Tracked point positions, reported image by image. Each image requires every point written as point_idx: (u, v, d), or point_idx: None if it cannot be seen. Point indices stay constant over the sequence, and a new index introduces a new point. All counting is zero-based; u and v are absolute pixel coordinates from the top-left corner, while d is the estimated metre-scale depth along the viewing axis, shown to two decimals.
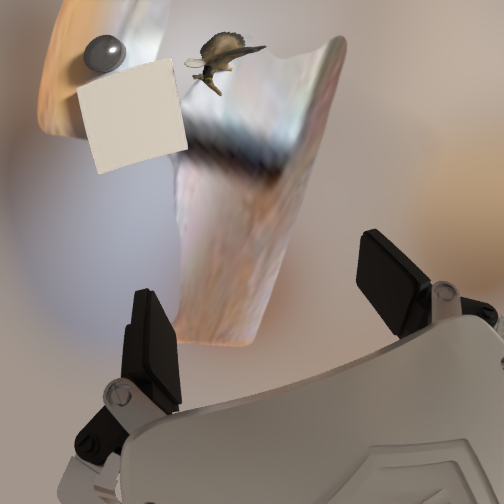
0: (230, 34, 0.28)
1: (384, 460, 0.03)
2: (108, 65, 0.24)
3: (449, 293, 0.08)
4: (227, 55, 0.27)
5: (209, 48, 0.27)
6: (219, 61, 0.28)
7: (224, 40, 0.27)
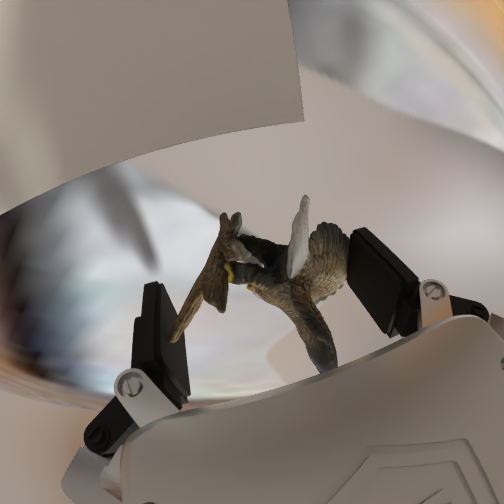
0: None
1: (384, 461, 0.03)
2: None
3: (437, 291, 0.08)
4: None
5: (331, 252, 0.11)
6: (293, 302, 0.10)
7: (343, 279, 0.13)
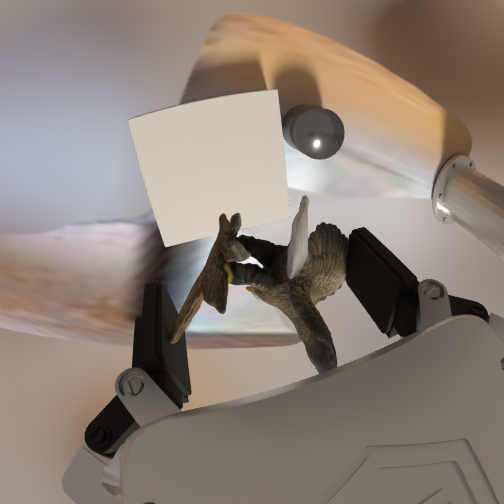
0: None
1: (384, 461, 0.03)
2: (299, 143, 0.23)
3: (436, 291, 0.08)
4: None
5: (330, 252, 0.11)
6: None
7: (343, 279, 0.13)
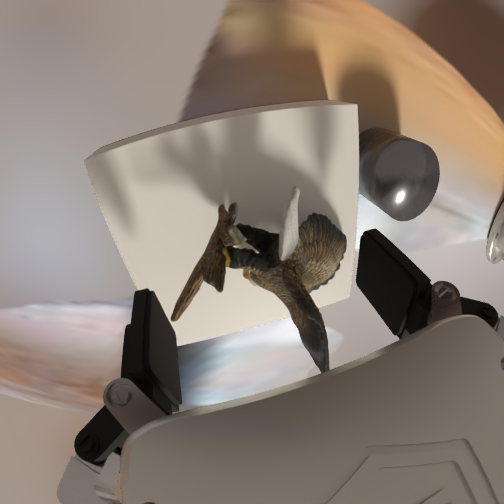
0: (338, 263, 0.16)
1: (384, 460, 0.03)
2: (384, 199, 0.14)
3: (449, 293, 0.08)
4: None
5: (321, 240, 0.12)
6: None
7: (334, 267, 0.14)
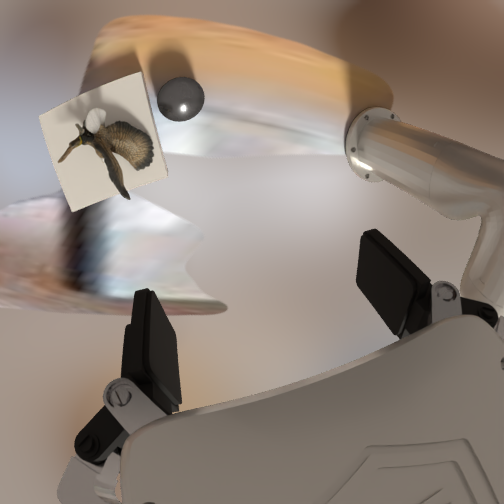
0: (149, 150, 0.27)
1: (384, 460, 0.03)
2: (161, 110, 0.25)
3: (449, 293, 0.08)
4: None
5: (121, 131, 0.23)
6: None
7: (135, 146, 0.25)
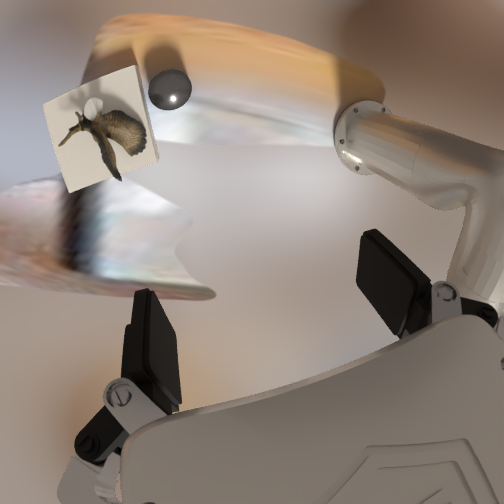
0: (142, 137, 0.29)
1: (384, 460, 0.03)
2: (152, 100, 0.26)
3: (449, 293, 0.08)
4: None
5: (116, 119, 0.25)
6: None
7: (128, 133, 0.26)
